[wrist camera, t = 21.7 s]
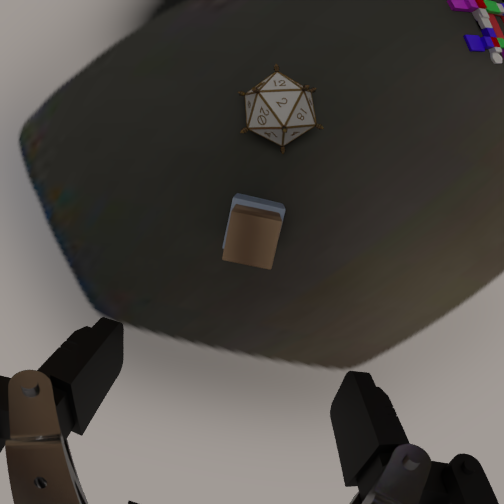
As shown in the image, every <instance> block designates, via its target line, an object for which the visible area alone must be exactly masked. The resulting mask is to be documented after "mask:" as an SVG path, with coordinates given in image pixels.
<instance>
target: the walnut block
mask: <svg viewBox="0 0 504 504" xmlns="http://www.w3.org/2000/svg"><path fill="white" fill-rule="evenodd" d="M281 225H282V219H281V216H280V213H278V212H273V211H268V210H264V209H259V208H254V207H249V206H244V205H239V204H236V205H235V206H234V208H233V209H232V211H231V216H230V221H229V226H228V231H227V237H226V242H225V247H224V253H223V258H222V260H226V261H231V262H235V263H240V264H245V265H250V266H255V267H260V268H265V269H270V270H271V268H272V264H273V260H274V255H275V251H276V247H277V242H278V238H279V234H280V229H281Z"/></svg>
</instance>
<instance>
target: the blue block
mask: <svg viewBox="0 0 504 504" xmlns="http://www.w3.org/2000/svg"><path fill="white" fill-rule="evenodd" d="M236 204H239V205H244V206H249V207H254V208H259V209H264V210H268V211H273V212H278V213H280V216H281V219H282V222H283V218H284V214H285V210H286V209H285V207H284V205H283V203H278V202H274V201H270V200H266V199H261V198H257V197H253V196H248V195H244V194H239V193H237V194H236V195H235V196H234V197H233V201H232V205H231V210H230V214H229V219H228V224H227V228H226V233H225V238H224V243H223V248H224V247H225V242H226V237H227V231H228V226H229V221H230V216H231V211H232V209H233V208H234V206H235V205H236ZM281 226H282V225H281ZM280 230H281V229H280Z"/></svg>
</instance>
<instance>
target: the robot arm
mask: <svg viewBox="0 0 504 504" xmlns="http://www.w3.org/2000/svg"><path fill="white" fill-rule="evenodd" d="M123 330H124V329H123V324H122V323H120V322H117V321H114V320H111V319H107V318H104V317H102V318H100V320H99V321H98V322H97V323H96V324H95V325H94V326H93V327H92V328H91V327H88V326H86V327H83V328H81V329H79V330H77V331H75V332H74V333H73V334H72V335H71V336H70V337H69V338H68V339H67V341H65V342H64V343H63V344H62V345H61V347H60V348H58V349H57V350H56V351H55V352H54V353H53V354H52V355H51V357H49V358H48V360H47V361H46V362H45V363H44V364H43V365H42V366H41V367H40V368H39V369H38V370H37V371H36V370H24V371H21V372H18V373H16V374H15V375H14V376H13V377H12V378H8V377H4V376H0V452H1V451H2V449H3V447H4V446H5V449H6V458H7V465H8V473H9V479H10V484H11V490H12V496H13V501H14V504H88V502H87V500H86V497H85V495H84V492H83V490H82V488H81V485H80V482H79V479H78V476H77V472H76V469H75V467H74V463H73V460H72V456H71V452H70V449H69V445H68V441H67V437H68V435H69V434H70V432H71V431H73V432H75V433H77V434H79V435H83V433H84V431H85V430H86V428H87V426H88V424H89V423H90V421H91V419H92V418H93V416H94V414H95V413H96V411H97V409H98V408H99V406H100V404H101V403H102V401H103V399H104V398H105V396H106V394H107V393H108V391H109V390H110V388H111V386H112V385H113V383H114V381H115V379H116V378H117V377H118V375H119V373H120V371H121V368H122V364H123ZM396 415H397V414H396V412H395V410H394V408H393V405H392V403H391V401H390V399H389V397H388V395H386V393H385V392H384V391H383V390H382V389H381V388H379V387H376V386H375V383H374V381H373V379H372V377H371V375H370V374H369V373H365V372H356V371H349V372H348V373H347V374H346V376H345V377H344V380H343V382H342V384H341V386H340V388H339V390H338V392H337V394H336V396H335V398H334V400H333V402H332V405H331V410H330V417H331V422H332V426H333V430H334V435H335V439H336V444H337V449H338V453H339V458H340V463H341V467H342V472H343V477H344V482H345V486H346V487H348V486H358V489H359V492H358V493H357V494H356V495H355V496H354V498H353V499H352V501H351V502H350V504H499V503H498V501H497V499H496V496H495V494H494V492H493V490H492V487H491V485H490V483H489V481H488V479H487V477H486V474H485V473H484V470H483V468H482V466H481V464H480V463H479V461H478V460H477V459H475V458H474V457H473V456H471V455H468V454H458V455H456V456H455V457H454V458H453V459H452V460H451V461H450V463H449V464H448V463H441V462H435V461H431V459H430V457H429V455H428V454H427V453H426V452H425V451H424V450H423V449H422V448H420V447H418V446H416V445H413V444H410V443H409V441H408V439H407V436H406V434H405V432H404V430H403V427H402V425H401V423H400V421H399V418H398V417H397V416H396ZM128 504H138V503H135V502H131V501H129V502H128Z"/></svg>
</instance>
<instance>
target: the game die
mask: <svg viewBox="0 0 504 504" xmlns="http://www.w3.org/2000/svg"><path fill="white" fill-rule="evenodd" d="M274 70H275V72H274V73H273V74H271V75H270V76H269V77H267V78H266V79H264V80H263V81H262V82H260V83H259V84H258V85H256V86H255V87H253V88H252V89H251V90H249V91H248V92H247V93H244V92H243V91H240V92H238V93H239V94H240V95H241V96H245V108H246V124H247V127H246V128H243V129H242V130H241V132H240V133H245V132H247V131H248V130H250V131H252V132H254V133H256V134H258V135H260V136H262V137H264V138H266V139H268V140H270V141H272V142H274V143H276V144H278V145H280V146H281V148H280V149H281V152H282V154H284V152H285V148H284V146H285V145H286V144H288V143H289V142H291V141H293V140H294V139H296V138H297V137H299V136H300V135H302V134H304V133H305V132H307V131H308V130H310V129H311V128H313V127H315V126H316V127H317V128H319V129H324V128H323V126H322V125H320V124H317V123H316V117H315V111H314V106H313V100H312V95H311V93H312V92H315V90H316V88H314V87H313V88H312V89H310V90H308V89H309V85H304V86H302V85H300V84H299V83H297V82H295V81H294V80H292V79H290V78H289V77H287V76H285V75H284V74H282V73H280V72H279V66H278V65H277V64H276V65H275V66H274Z"/></svg>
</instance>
